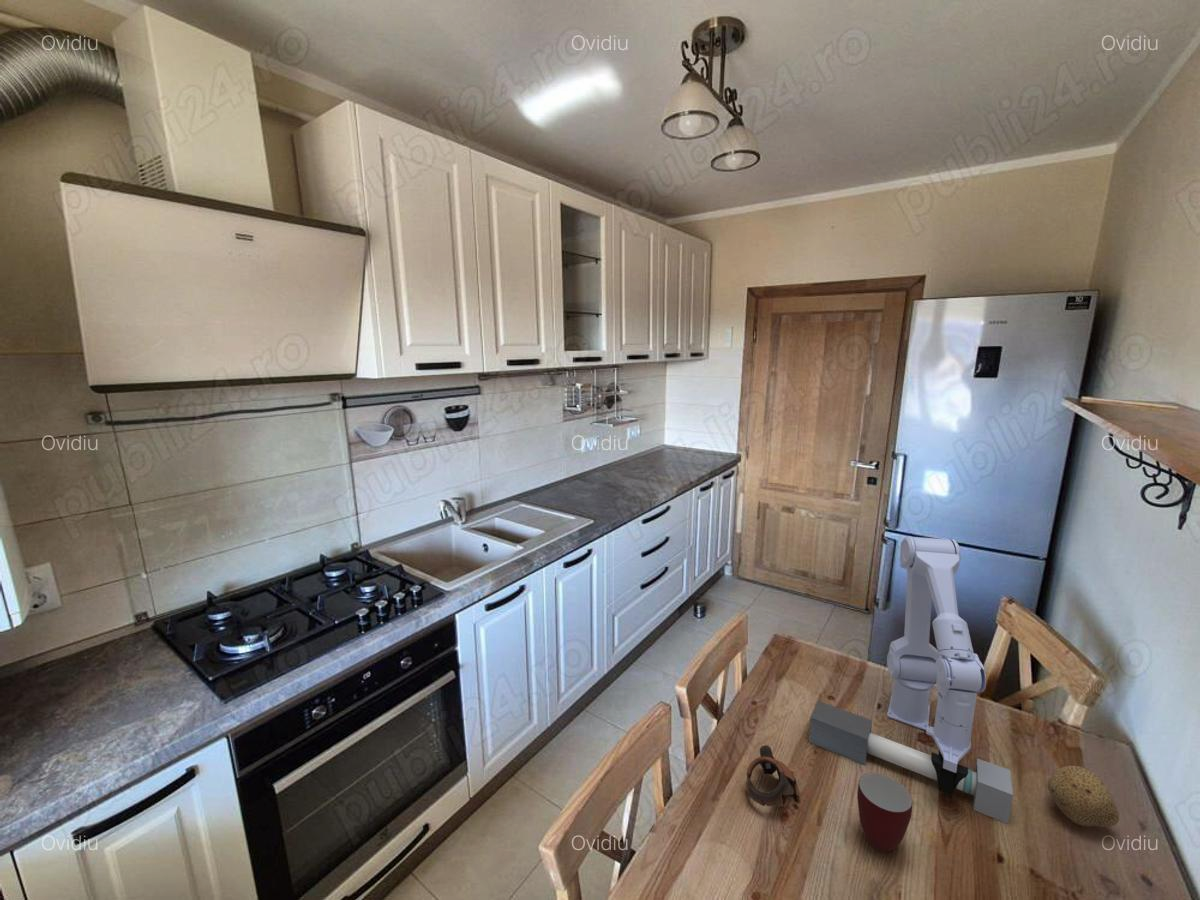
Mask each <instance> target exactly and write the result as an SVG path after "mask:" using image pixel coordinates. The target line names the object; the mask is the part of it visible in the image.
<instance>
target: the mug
mask: <svg viewBox="0 0 1200 900" xmlns="http://www.w3.org/2000/svg"><path fill="white" fill-rule="evenodd" d="M856 798H857V799H856V800H857V807H858V815H859V817H858V818H859V822H860V826H861V829H862V831H863V833H864V836H865V838H866V839H867V841H868V843H869V844H870V845H871V846H872V847H874V848H875V849H876V850H878V851H880V852H885V853H887V852H891V851H892V850H894V849H896V848H897V847H898V846H899V845H900V844H901V843H902V841H903V839H904V837H905V835H906V832H907V830H908V827H909V826H910V825H909V824H910V822H911V818H912V814H913V803H914V802H913V798H912V795H911V793H910V792H909V791H908V789H907V788H906V787H905V786H904V785H903V784H902V783H901V782H899V781H898V780H896V779H895V778H893V777H891V776H888V775H887V774H883V773H879V772H867V773H864V774H863V775H861V776H860V778H859V780H858V784H857V795H856Z"/></svg>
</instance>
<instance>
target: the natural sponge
mask: <svg viewBox="0 0 1200 900" xmlns="http://www.w3.org/2000/svg"><path fill="white" fill-rule="evenodd" d="M1047 789H1048V791H1049V794H1050V796H1051V798H1052V799H1053V801H1054V803H1056V805H1057V807H1058V808H1059V809H1060V811H1061V812H1062V813H1063V814H1064V815H1065V817H1067V818H1068V820H1070V821H1071V822H1073V823H1075V825H1076V824H1077V825H1079V826H1083V827H1103V828H1110V827H1114V826H1116V825H1117V824H1118V823H1119V820H1120V813H1119V810H1118V807H1117V805H1116V803H1115V800H1114V798H1113V796H1112V793H1111V791H1110V790H1109V788H1108V787H1107V785H1106V784H1105V782H1104V781H1103V780H1102V779H1101V778H1100V777H1099V776H1098V775H1097V774H1095V773H1094V772H1092V771H1090V770H1088V769H1087V768H1084V767H1082V766H1077V765H1067V766H1066V765H1065V766H1062V767H1060V768H1058V769H1056V770H1055V771H1054V772H1052V774H1051V775H1050V777H1049V779H1048V781H1047Z"/></svg>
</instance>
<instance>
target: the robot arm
mask: <svg viewBox="0 0 1200 900" xmlns="http://www.w3.org/2000/svg"><path fill="white" fill-rule="evenodd" d="M899 551H900V552H899V563H900V564H899V565H900V568H902V569H905V570H906V574H907V575H906V576H907V578H906V581H907V582H906V594H905V595H906V596H905V597H906V600H905V612H904V613H905V615H904V617H905V618H904V631H903V632H904V633H903V634H904V635H903V636H902V637H899V638H897V639H895V640H892V641H891V642H890V645H889V650H888V653H887V656H886V663H887V664H886V665H887V666H886V667H887V669H888V670H887V671H888V674H889V675H890V676H891V678H892V679H893V683H892V684H893V685H892V693H891V694H890V700H889V705H888V709H887V714H886V716H887V718H888V719H889V718H890V719H893V720H895V721H898V722H901V723H904V724H906V725H909V726H912V727H914V728H917V729H921V730H923V731H925V733H926V734H927V735H928V736H930V737H932V739H933V740H934V742H935V744H936V746H937V748H938V754H937V753H935V752H931V761H932V764H933V766H934V768H935V771H936V774H937V782H936V783H937V788H938V791H939V792H941V793H943V794H946V795H948V796H950V797H952V796H953V795H954V793H955V791H956V787H957V785H958V783H959V782H960V781H961V780H962V779H963V778H965V777H966V776H967V775H968V769H969V768H968V767H967V766H965V765H962V764H959V762H960V761H961V759H963V758H964V756H965V755H967V753H968V752H969V751H970V750H971V748H972V742H971V738H972V731H973V730H972V729H973V723H974V717H975V716H974V715H975V709H976V703H977V696H978V692H979V693H984V691H985V690H986V687H987V686H986V685H987V675H986V670H985V667H984V665H983V663H982V662H981V660H980V658H979V655H978V654H977V653H975V652H974V648H973V645H972V644H973V643H972V639H971V635H970V631H969V626H968V623H967V621H966V620H964V619H963V618H962V617H960V615H959V609H958V600H957V599H958V598H957V592H956V584H955V574H956V573H957V571H958V569H959V567H960V563H961V559H962V552H961V548H960V545H959V543H958V542H957V541H956V540H955V539H954V538H948V539H947V538H934V537H933V538H932V537H919V536H918V537H917V536H910V535H907V536H905V537H904V538H903V539H902V541H901V542H900V549H899ZM932 602H933V605H934V609H935V613H936V618H934V619H933V621H932V622H931V615H932V614H931V613H932ZM931 623H932V628H933V634H934V640H935V645H936V647H935V646H933V645H932V644H931V643H930V632H931V631H930V630H931ZM935 687H936V690H937V691H938V692H937V693H938V694H937V703H936V710H935V714H934V715H935V718H934V725H933V726H929V721H930V710H931V706H930V705H929V703H930V696H931V689H934V688H935Z"/></svg>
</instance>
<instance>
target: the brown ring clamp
mask: <svg viewBox="0 0 1200 900" xmlns="http://www.w3.org/2000/svg"><path fill="white" fill-rule="evenodd" d="M759 754H760V756H759V757H757V758H755V759H754V760H752V761H751V762H750V763H749V766H748V767H747V770H746V782H745V787H746V788H745V789H746V791H747V795H748V797H749V798H750V799H751V800H752V801H754V802H756V803H757V804H759V805H760V806H763V807H765V806H767V807H772V806H779V807H782V808H784V806H785V805H784V802H783V801H784V800H783V795H784V796H789V795H794V793H795V795H796V799H797V800H796V801H797V802H800V801H801V799H800V789H799V786H798V784H797V779H796V778H795V775H794V773H793V772H792V771H791V769H790V768H789V767H788V766H787V765H786V764H785V763H783V761H780V760H778V759H775V756H774V755H773V752H772V748H771V747H770V746H769V745H766V744H765V745H762V746H760V749H759ZM758 765H760V766H761V768H762V771H763V774H764V775H774V773H777V776H778V781H779V784H778V786H777V787H776V788H775V789H774V790H771V791H769V792H764V791H761V790H759V789H757V788H756V787H755V785H753V781H752V780H751V779H752V775H753V774H752V773H753V771H754V769H755V768H756V767H758Z"/></svg>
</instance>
